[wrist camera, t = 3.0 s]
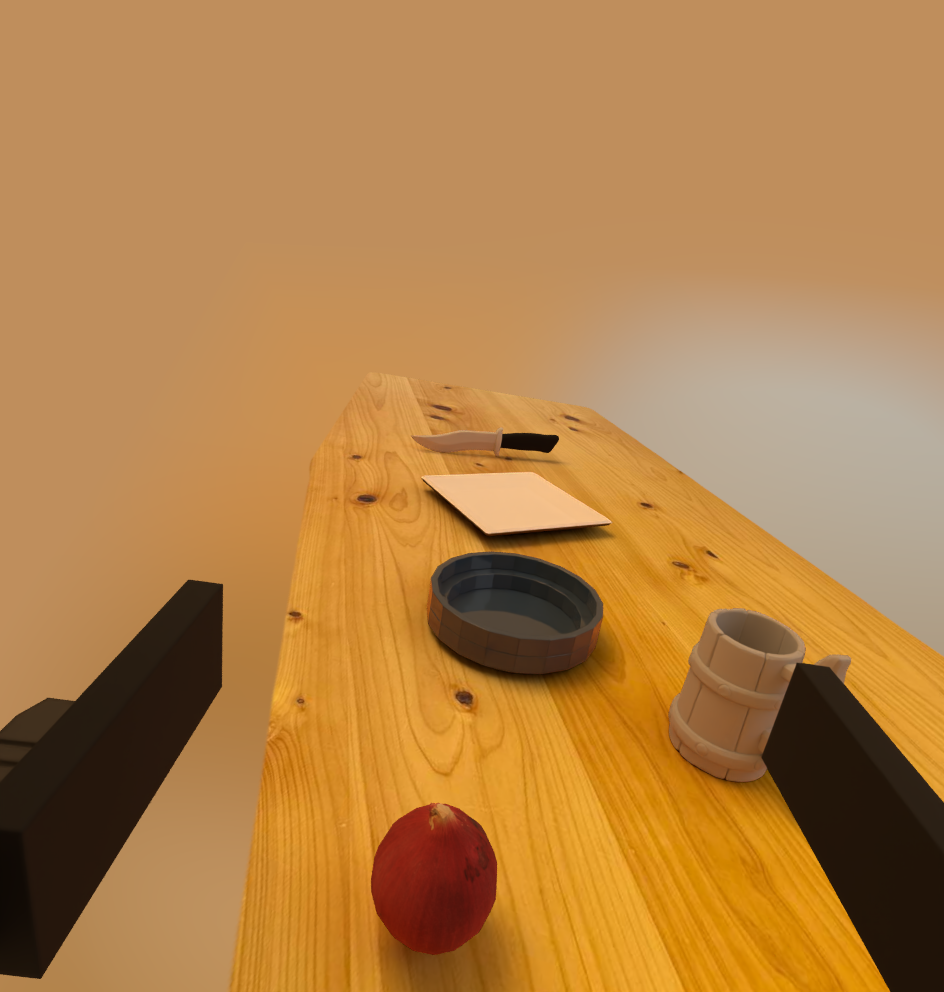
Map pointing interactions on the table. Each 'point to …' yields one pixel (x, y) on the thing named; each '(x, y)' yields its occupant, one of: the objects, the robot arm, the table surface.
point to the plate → (513, 503)
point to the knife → (487, 441)
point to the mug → (737, 692)
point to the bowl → (514, 612)
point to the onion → (434, 879)
